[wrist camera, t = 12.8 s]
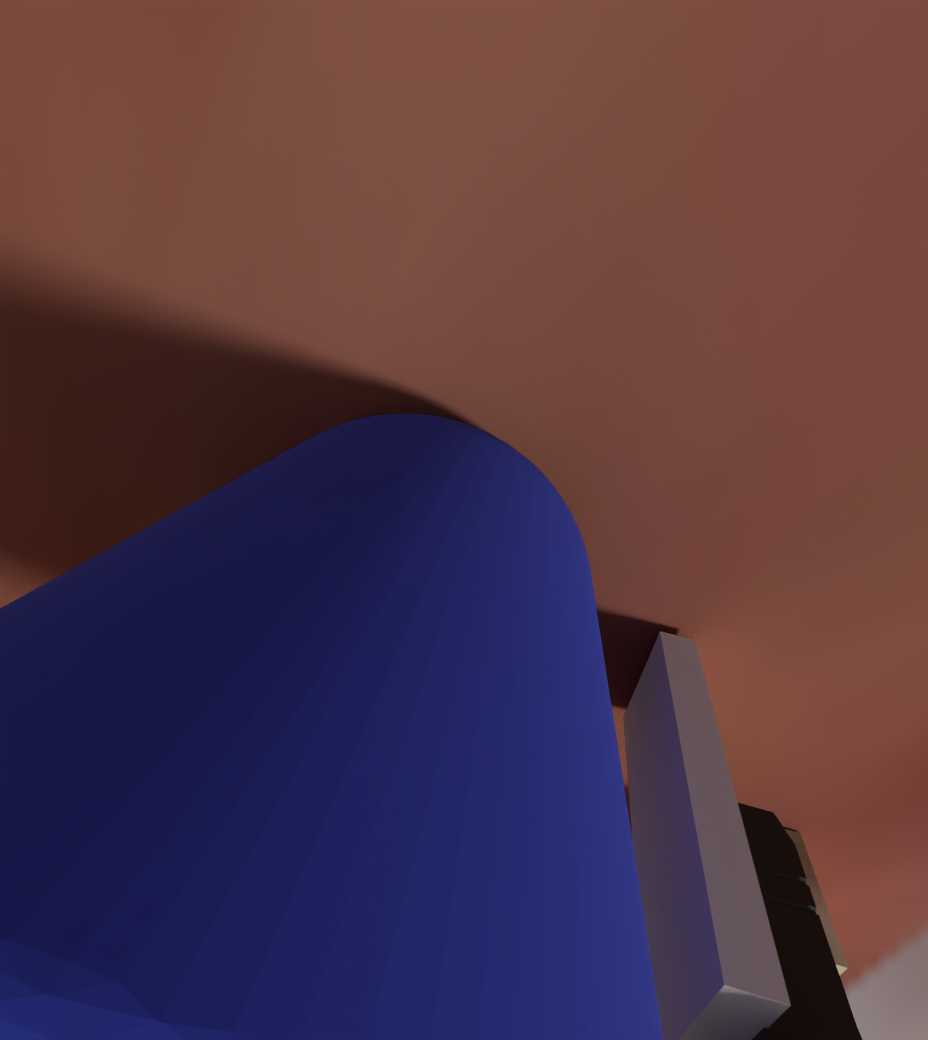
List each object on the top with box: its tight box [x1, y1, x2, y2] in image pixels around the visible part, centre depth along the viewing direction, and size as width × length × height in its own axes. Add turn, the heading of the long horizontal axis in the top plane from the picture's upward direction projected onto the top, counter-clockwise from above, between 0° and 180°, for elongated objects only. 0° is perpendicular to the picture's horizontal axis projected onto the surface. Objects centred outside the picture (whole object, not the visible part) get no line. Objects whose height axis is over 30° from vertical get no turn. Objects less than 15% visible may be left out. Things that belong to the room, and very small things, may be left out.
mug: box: [0, 413, 663, 1040], centre depth 9 cm, size 8×12×10 cm
